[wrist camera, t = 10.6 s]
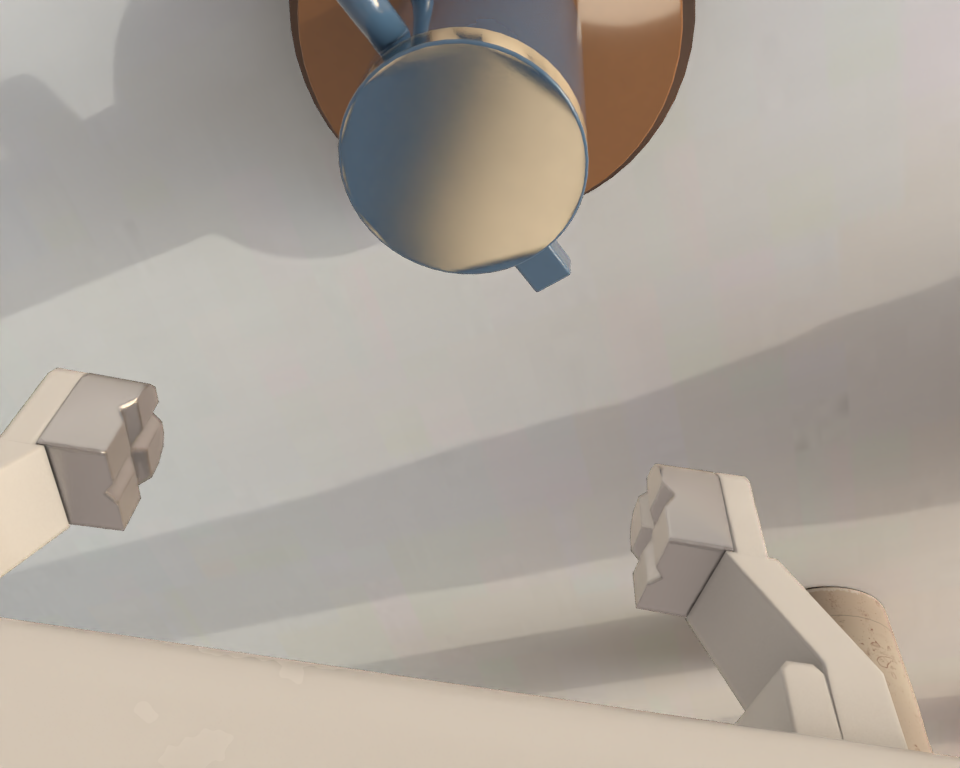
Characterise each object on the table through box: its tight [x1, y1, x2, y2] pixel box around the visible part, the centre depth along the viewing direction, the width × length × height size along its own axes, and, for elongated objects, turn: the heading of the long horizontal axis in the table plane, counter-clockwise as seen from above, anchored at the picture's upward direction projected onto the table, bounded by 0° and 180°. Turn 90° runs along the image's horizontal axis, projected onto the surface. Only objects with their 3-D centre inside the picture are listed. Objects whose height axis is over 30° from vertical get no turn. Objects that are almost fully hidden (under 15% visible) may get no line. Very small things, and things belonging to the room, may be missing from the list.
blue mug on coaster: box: [297, 0, 683, 292], centre depth 24 cm, size 13×13×10 cm
